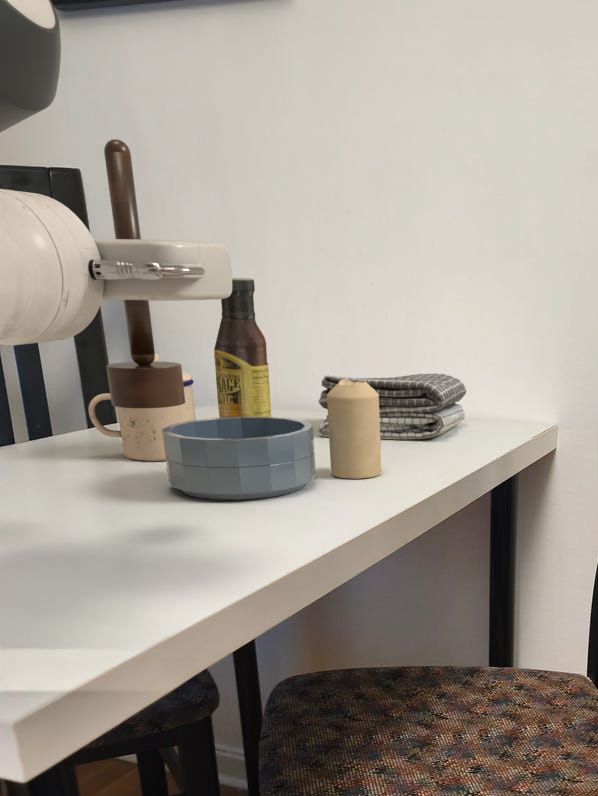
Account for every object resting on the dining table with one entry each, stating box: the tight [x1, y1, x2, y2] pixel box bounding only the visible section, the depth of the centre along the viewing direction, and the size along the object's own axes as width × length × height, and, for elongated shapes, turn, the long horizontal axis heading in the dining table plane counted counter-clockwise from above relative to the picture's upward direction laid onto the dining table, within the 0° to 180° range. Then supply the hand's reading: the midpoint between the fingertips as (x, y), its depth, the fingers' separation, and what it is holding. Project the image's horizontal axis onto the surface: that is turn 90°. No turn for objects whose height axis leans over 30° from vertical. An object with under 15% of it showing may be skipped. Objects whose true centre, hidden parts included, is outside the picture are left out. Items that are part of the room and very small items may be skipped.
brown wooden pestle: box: [103, 138, 185, 408], centre depth 68 cm, size 6×6×19 cm
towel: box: [317, 372, 467, 441], centre depth 124 cm, size 15×18×8 cm
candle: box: [327, 379, 382, 480], centre depth 96 cm, size 6×6×10 cm
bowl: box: [162, 416, 317, 501], centre depth 91 cm, size 15×15×6 cm
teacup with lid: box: [88, 352, 197, 462], centre depth 105 cm, size 12×9×12 cm
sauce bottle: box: [213, 277, 272, 418], centre depth 107 cm, size 6×6×20 cm
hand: (138, 269), depth 69 cm, fingers closed on brown wooden pestle
